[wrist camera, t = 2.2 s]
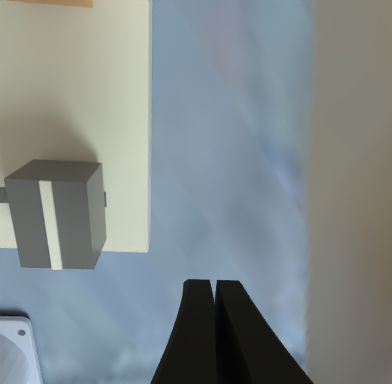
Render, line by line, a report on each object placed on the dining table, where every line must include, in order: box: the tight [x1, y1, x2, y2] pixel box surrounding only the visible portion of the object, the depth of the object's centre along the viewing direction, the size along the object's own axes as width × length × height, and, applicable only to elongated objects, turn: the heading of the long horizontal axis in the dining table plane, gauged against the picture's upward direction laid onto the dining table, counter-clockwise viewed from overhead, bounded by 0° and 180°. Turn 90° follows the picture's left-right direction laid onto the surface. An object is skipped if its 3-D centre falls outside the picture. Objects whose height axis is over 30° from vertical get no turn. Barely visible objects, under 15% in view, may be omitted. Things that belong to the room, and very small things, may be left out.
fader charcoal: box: [4, 159, 107, 270], centre depth 13 cm, size 4×3×2 cm
